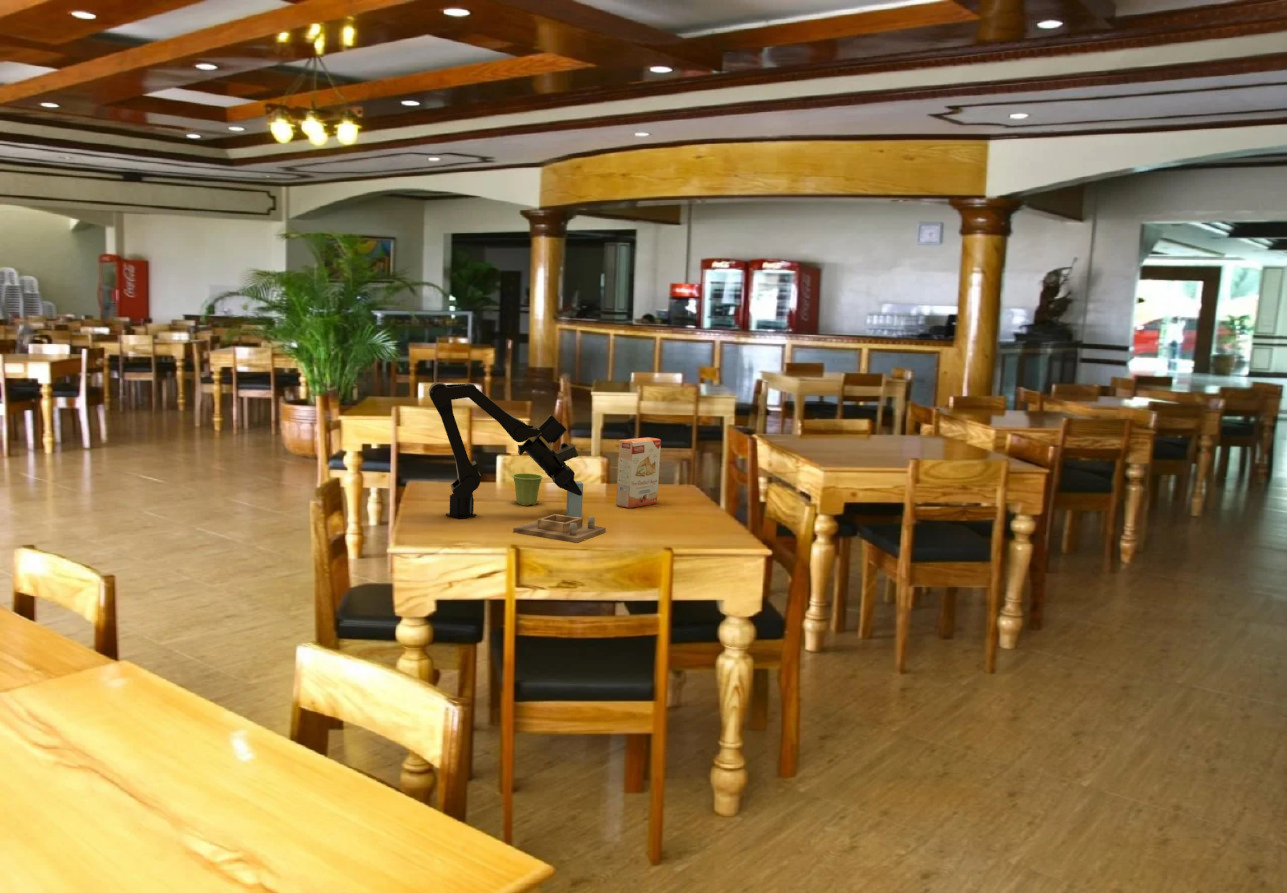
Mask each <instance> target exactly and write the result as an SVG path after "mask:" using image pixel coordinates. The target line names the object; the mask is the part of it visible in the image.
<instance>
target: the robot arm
mask: <svg viewBox="0 0 1287 893" xmlns="http://www.w3.org/2000/svg"><path fill="white" fill-rule="evenodd" d="M428 396H429V398H430V400H431V402H432V404H433V406H434V407H435V409H436V411H437V412H438V415H439V416H440V417H441V418H440V419H441V422H442V425H443V427H444V430H445V433H446V436H447V439H448V442H449V445H450V447H451V451H452V454H453V457H454V460H455V465H456V466H455V467H456V474H457V479H456V480H455V481H454V482H452V483H451V484H450V488H451V491H452V493H451V494H450V495H449V512H447V513H446V512H445V516H447V517H452V518H456V519H459V520H460V519H468V518H472V517H476V516H477V515H478V514H477V513H474V505H475V504H474V503H475V502H474V500H475V499H474V492H475V491H476V490H477V489H478V488H479V486H480V485H481V484H480V483H481V479H480V478H482V475H481V474H480V471H479V468H478V464H477V462H476V460H472V461H471V460H470V459H469V457H468V456H469V455H468V453H467V451H466V448H465V444H464V442H463V437H462V435H461V433H460V430H459V427H458V423H457V421H456V420H457V419H455V418H456V417H455V415H454V411H453V400H460V399H466V398H467V399H470V400H471V401H472V402H473V403H474V404H476V405H477V406H478V407H479V408H480V409H482V411H484V412H486V413H487V414H488V415H489V416H491V418H493V419H494V420H495V421H496V422H497V423H498V424H500V426H501V427H502V428H503V429H504V430H505V432H506V433H507V434H508V435H509V436H510V437H511V439H512V440H513V441H515V442H517V443H522V444H517V453H518V454H519V456H521V455H523V454H524V453H526V454H527V455H528V456H529V457H530V458H531V459H532V460H533V461H534V462H535V463H536V464H537V465H538V466H539V467H540V468H541V469H542V470H543V471H544V472H545V474H546V475H547V476H548V477H549V478H551V480H552V482H553V483H554V484H555V485H556V486H557V487H558V488H560V489H563V490H565V491H566V492H567V491H569V492H572V493H574V494H576V495H579V496H581V495H582V492H581V490H580V489H579V487H578V485H577V484H576V482H575V481H576V480H575V475H576V474H575V471H574V470H573V469H572V468H571V466H569V465H568V464H567V463H566V462H567V461H569V460H571V459H573V458H577V457H579V453H578V451H577V449H576V448H577V447H576V446H575V445H574V444H571V443H569V444H567V443H566V442H562V443H560V444H559V445H560V447H559V449H558V450H557V451H555V450H553V449H552V448H550V447H549V446H548V445H549V444H555V443H556V442H557V441H559V439H560V438H561V437H562V436H563V435H564V434H565V433H566V432H568V429H567V428H566V426H564V425H563V424H562V423H561V422H560V421H558V419H556V418H555V417H554V416H553V415H552V414H549V415H548V416H547V417H546V418H545V419H544V421H542V423H540V425H539V426H536V425H531V424H527V423H525V422H524V421H523V420H521V419H519V417H516V416H514V415H512V414H510V413H508V412H507V411H505V410H504V409H503V408H502V407H501V406H499V405H498V404H496V403H495V401H493V400H492V399H491V398H490V397H488V395H486V394H484V392H482V391H481V390H480V389H479V388H477V386H476V385H475V384H474V383H472V382H467V383H453V384H452V383H451V384H445V383H444V382H440V381H438V382H437V381H436V382H434V383H432V384H431V385H430V386H429V388H428ZM530 438H531V439H530ZM541 438H543V440H542V439H541ZM544 441H545V442H546V443H547V444H548V445H547V444H546V443H545V442H544Z"/></svg>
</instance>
